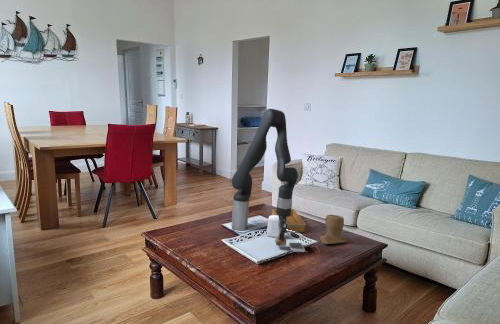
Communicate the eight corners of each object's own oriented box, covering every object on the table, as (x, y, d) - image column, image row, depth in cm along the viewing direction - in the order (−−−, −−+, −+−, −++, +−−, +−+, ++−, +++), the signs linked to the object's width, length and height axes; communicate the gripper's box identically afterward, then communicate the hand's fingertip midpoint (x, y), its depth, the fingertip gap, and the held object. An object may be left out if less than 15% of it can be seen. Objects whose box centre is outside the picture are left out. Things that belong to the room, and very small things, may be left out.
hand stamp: (276, 245, 176) (277, 231, 175) (275, 241, 181) (276, 227, 180) (286, 245, 177) (287, 231, 176) (284, 241, 182) (285, 228, 180)
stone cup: (335, 236, 202) (338, 211, 199) (349, 244, 191) (352, 218, 189) (314, 238, 196) (316, 213, 193) (326, 247, 185) (329, 220, 182)
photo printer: (285, 237, 195) (287, 216, 193) (283, 239, 191) (285, 218, 189) (267, 233, 198) (269, 213, 196) (265, 236, 194) (267, 215, 192)
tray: (271, 216, 232) (272, 208, 231) (293, 216, 234) (294, 208, 233) (280, 233, 202) (281, 223, 201) (305, 233, 204) (306, 224, 203)
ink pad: (290, 251, 176) (291, 248, 176) (288, 245, 184) (288, 242, 183) (304, 252, 176) (304, 248, 176) (301, 245, 184) (301, 242, 184)
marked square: (305, 252, 176) (305, 251, 176) (301, 245, 184) (301, 245, 184) (320, 252, 177) (320, 252, 177) (316, 246, 185) (316, 245, 185)
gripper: (275, 201, 182) (272, 232, 185) (279, 209, 168) (275, 243, 171) (289, 202, 183) (285, 233, 186) (294, 210, 169) (290, 243, 172)
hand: (281, 237), depth 179 cm, fingers closed on hand stamp, 3 cm apart
